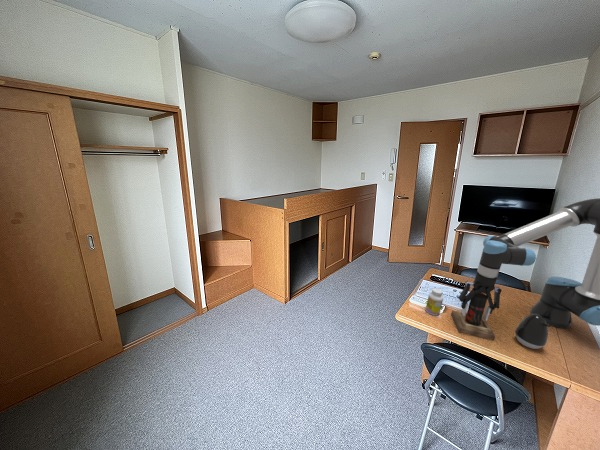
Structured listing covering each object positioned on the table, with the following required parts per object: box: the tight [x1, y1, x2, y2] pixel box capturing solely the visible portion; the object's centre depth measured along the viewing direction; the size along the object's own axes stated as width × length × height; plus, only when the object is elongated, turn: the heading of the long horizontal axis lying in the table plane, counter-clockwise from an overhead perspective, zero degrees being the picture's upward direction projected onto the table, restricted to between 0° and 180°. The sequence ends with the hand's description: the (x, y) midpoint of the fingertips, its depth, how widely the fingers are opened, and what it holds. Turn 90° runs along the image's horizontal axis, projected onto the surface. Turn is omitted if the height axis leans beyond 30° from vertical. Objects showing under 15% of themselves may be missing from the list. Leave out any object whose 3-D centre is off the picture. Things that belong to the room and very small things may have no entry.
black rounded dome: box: [514, 313, 551, 350], centre depth 106 cm, size 10×10×15 cm
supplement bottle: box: [425, 287, 444, 316], centre depth 126 cm, size 7×7×13 cm
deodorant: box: [465, 293, 488, 326], centre depth 115 cm, size 6×6×15 cm
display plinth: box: [450, 310, 496, 341], centre depth 118 cm, size 14×14×4 cm
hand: (474, 316), depth 116 cm, fingers open, 8 cm apart
